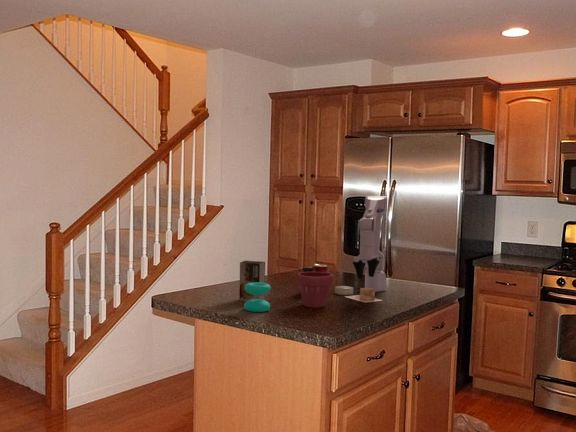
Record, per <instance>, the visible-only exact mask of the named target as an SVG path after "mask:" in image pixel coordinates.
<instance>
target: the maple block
mask: <svg viewBox="0 0 576 432" xmlns="http://www.w3.org/2000/svg"><path fill="white" fill-rule="evenodd" d="M375 294H376V292H375V289H371V288H365V287H362V288H361V287H360V288H359V295H360V299H362V300H366V301H370V300H375V298H376V295H375Z"/></svg>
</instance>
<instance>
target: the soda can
mask: <svg viewBox="0 0 576 432" xmlns="http://www.w3.org/2000/svg"><path fill="white" fill-rule="evenodd" d="M311 267H314V272H326V273H329V266H328V265H327V264H321V263H315V264H313V265H312V266H311Z"/></svg>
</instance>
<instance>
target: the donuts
mask: <svg viewBox="0 0 576 432" xmlns="http://www.w3.org/2000/svg"><path fill="white" fill-rule="evenodd" d="M271 288H272V287H271V285H270V284H269V283H266V282H265V283H259V282H255V283H248V284H246V285H245V291H246V292H247V293H250V294H254V295H262V294H264V295H266V294H268V293H270V292H271ZM243 308H244V309H245V310H246V311H248V312H251V313H265V312H267V311H270V308H271V304H270V302H268V301H267V300H265V299H264V300H260V299H254V300H249V301H245V302H244V304H243Z"/></svg>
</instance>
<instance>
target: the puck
mask: <svg viewBox="0 0 576 432" xmlns="http://www.w3.org/2000/svg"><path fill="white" fill-rule="evenodd" d="M334 294H335V295H339V296H353V295H354V287H352V286H347V285H339V286H334Z"/></svg>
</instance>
